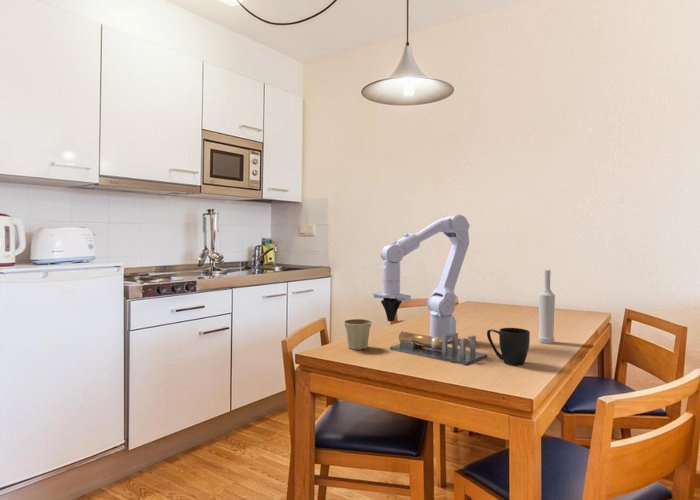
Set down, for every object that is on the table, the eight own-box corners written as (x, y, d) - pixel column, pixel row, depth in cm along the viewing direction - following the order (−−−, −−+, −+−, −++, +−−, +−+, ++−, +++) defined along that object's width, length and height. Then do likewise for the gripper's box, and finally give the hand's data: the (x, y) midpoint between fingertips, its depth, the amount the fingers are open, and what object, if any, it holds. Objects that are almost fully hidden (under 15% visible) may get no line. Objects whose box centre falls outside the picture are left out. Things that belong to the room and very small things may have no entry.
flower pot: (347, 352, 146) (347, 324, 146) (340, 345, 155) (340, 319, 155) (375, 350, 148) (376, 323, 148) (367, 343, 158) (367, 318, 157)
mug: (492, 355, 142) (493, 324, 142) (533, 362, 135) (533, 330, 135) (481, 361, 136) (482, 328, 136) (523, 368, 128) (524, 334, 128)
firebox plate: (413, 342, 159) (413, 335, 159) (487, 356, 141) (487, 348, 141) (389, 349, 150) (390, 341, 150) (466, 365, 132) (466, 356, 132)
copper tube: (398, 343, 153) (398, 332, 153) (405, 341, 156) (405, 330, 156) (441, 351, 142) (441, 339, 142) (447, 349, 145) (447, 337, 145)
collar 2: (471, 356, 142) (472, 335, 141) (475, 357, 141) (475, 335, 141) (459, 361, 136) (460, 339, 136) (463, 361, 135) (463, 339, 135)
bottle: (555, 344, 158) (557, 270, 158) (539, 343, 159) (540, 270, 159) (552, 341, 163) (553, 269, 163) (536, 340, 164) (537, 269, 164)
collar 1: (454, 352, 146) (454, 332, 145) (457, 353, 145) (457, 333, 145) (441, 357, 140) (442, 336, 140) (445, 358, 139) (445, 336, 139)
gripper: (367, 280, 159) (367, 319, 159) (402, 283, 149) (401, 325, 150) (380, 278, 164) (379, 317, 164) (414, 281, 154) (414, 322, 155)
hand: (391, 320), depth 157 cm, fingers closed
